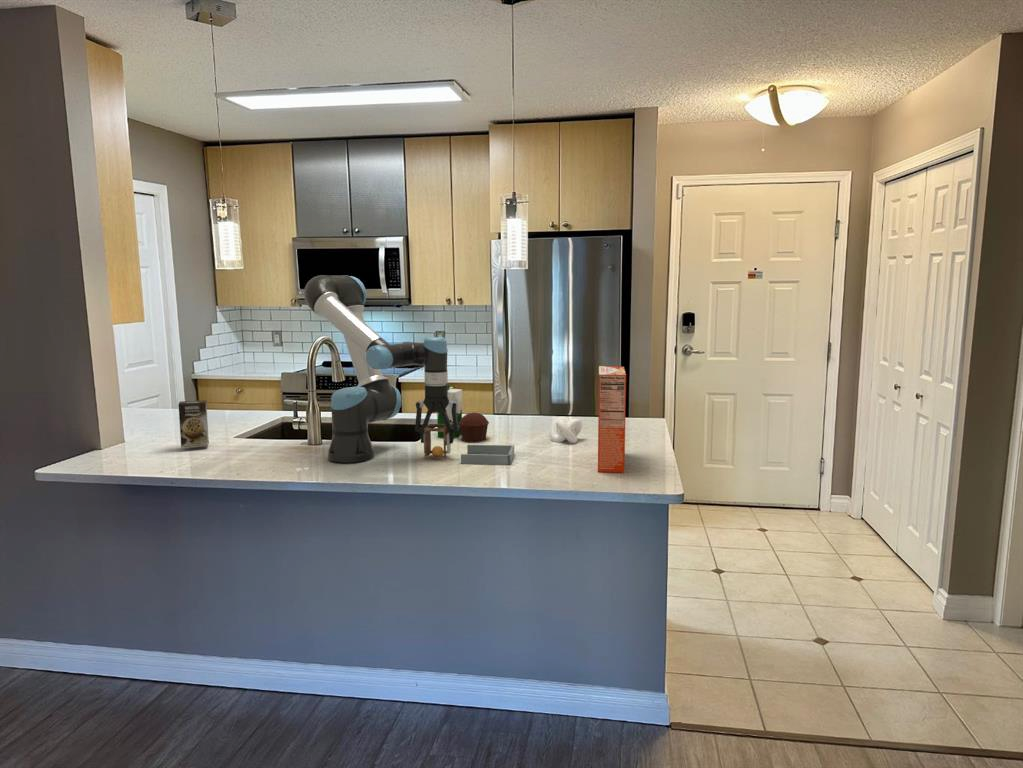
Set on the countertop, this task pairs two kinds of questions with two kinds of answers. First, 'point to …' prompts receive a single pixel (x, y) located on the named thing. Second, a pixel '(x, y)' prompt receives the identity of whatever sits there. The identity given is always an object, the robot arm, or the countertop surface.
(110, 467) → the countertop surface
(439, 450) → the ball
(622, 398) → the cereal box
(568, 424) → the white knot sculpture
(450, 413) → the milk carton
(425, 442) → the open box frame
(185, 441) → the brown tall box
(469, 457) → the u-shaped frame
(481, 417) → the muffin
